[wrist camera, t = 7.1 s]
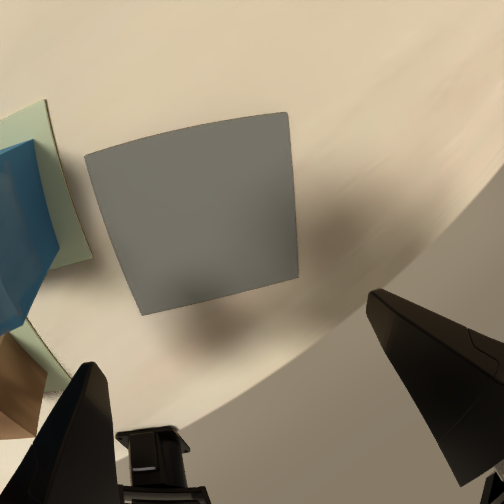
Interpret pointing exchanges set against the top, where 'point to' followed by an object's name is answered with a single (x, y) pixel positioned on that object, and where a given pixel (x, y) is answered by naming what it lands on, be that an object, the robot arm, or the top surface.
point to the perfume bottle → (22, 234)
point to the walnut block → (19, 390)
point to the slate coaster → (200, 210)
